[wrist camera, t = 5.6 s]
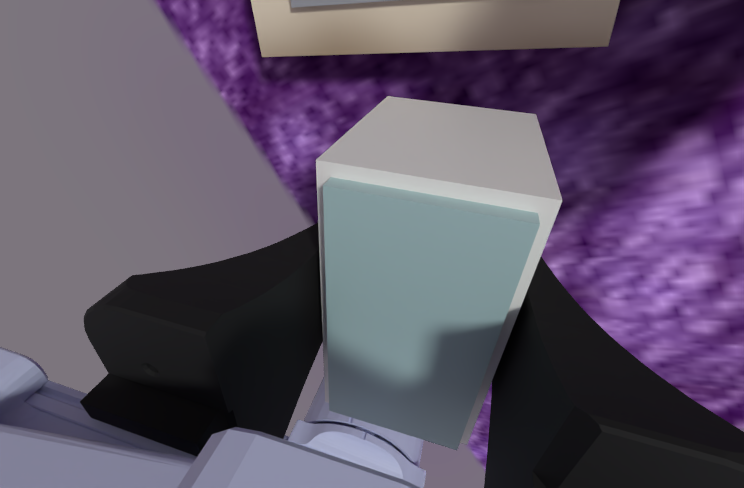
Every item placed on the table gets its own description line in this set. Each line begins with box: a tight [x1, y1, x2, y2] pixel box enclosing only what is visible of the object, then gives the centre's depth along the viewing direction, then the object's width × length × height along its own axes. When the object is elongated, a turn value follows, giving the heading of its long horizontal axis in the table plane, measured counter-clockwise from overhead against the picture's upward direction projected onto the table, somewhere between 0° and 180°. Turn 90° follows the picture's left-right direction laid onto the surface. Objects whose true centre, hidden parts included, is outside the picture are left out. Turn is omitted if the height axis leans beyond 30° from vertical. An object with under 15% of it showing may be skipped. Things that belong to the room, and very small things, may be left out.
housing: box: [316, 96, 563, 450], centre depth 11 cm, size 8×4×6 cm, turn 177°
